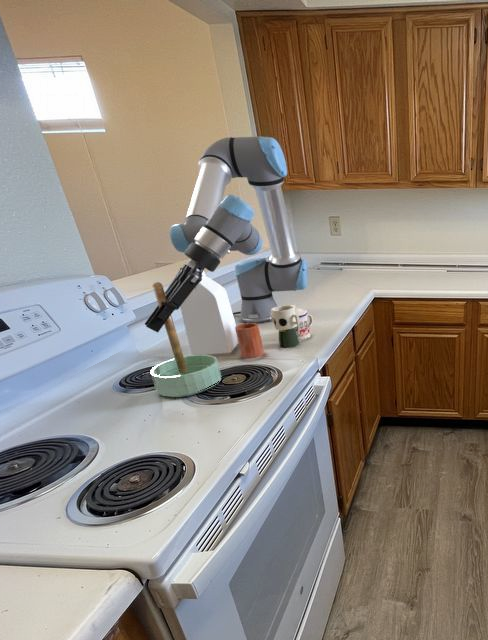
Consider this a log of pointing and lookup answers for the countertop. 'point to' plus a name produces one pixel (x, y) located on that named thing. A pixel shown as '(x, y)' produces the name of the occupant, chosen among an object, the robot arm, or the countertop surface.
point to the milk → (209, 319)
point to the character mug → (285, 325)
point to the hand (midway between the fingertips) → (151, 328)
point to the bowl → (186, 376)
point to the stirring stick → (171, 330)
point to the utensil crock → (249, 340)
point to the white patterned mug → (302, 323)
